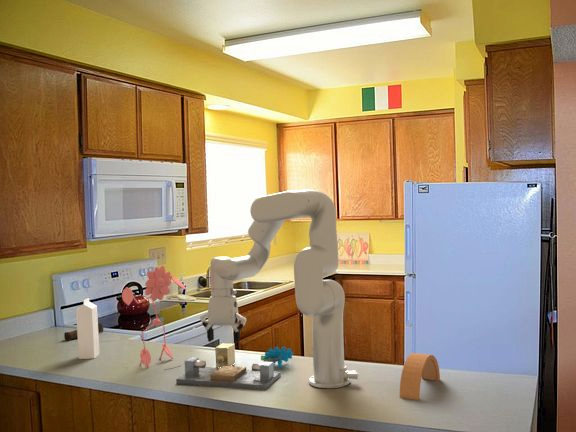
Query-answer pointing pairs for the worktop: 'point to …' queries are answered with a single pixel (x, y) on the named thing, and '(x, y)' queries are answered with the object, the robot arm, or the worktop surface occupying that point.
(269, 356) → the gear
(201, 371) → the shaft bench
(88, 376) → the worktop surface
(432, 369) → the arch
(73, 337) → the hand tool
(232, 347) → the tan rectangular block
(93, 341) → the milk
